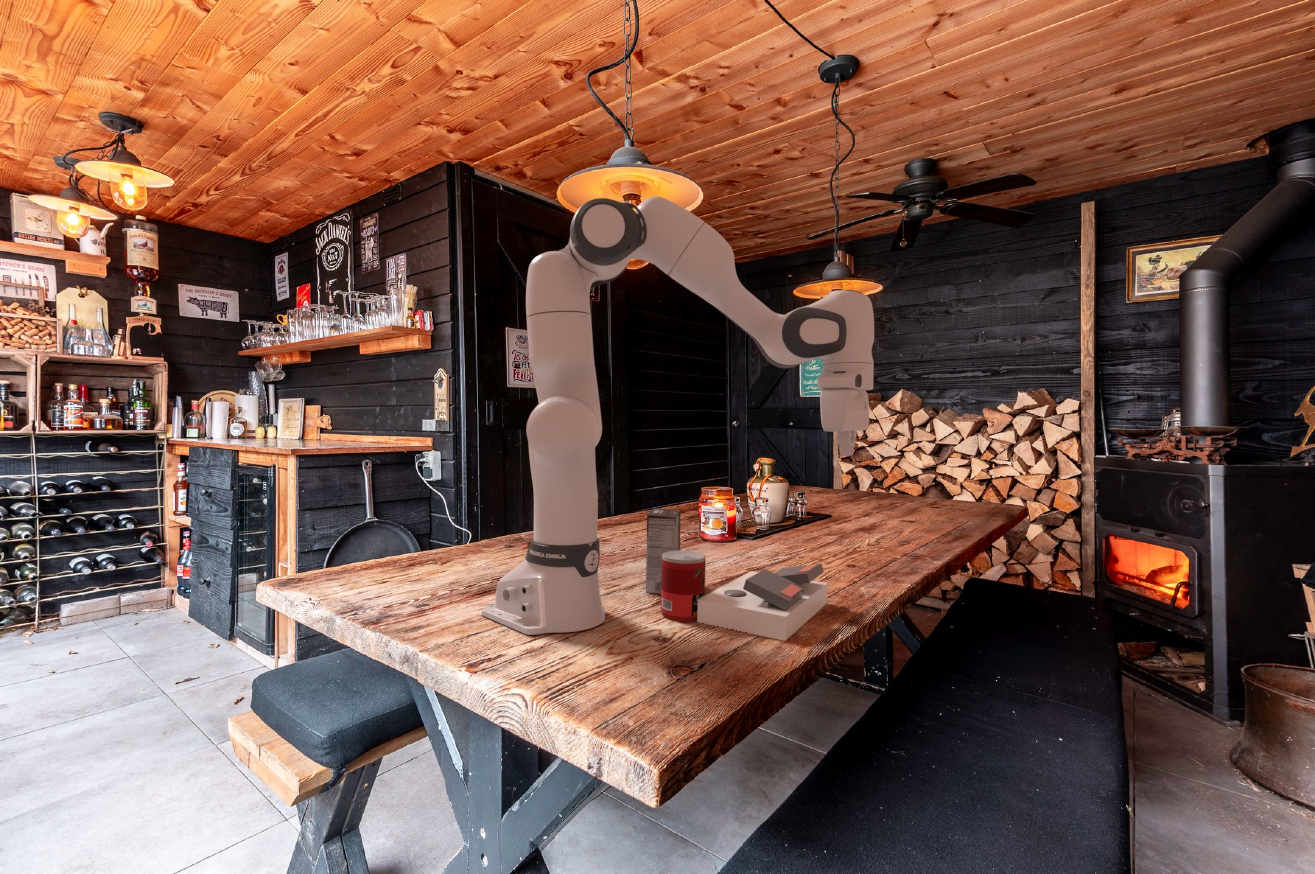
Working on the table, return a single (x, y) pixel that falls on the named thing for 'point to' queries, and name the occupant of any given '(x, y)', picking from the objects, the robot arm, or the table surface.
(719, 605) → the beige flat block
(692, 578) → the canned food
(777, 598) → the rocker near
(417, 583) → the table surface
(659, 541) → the coffee box
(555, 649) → the table surface
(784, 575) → the rocker far
